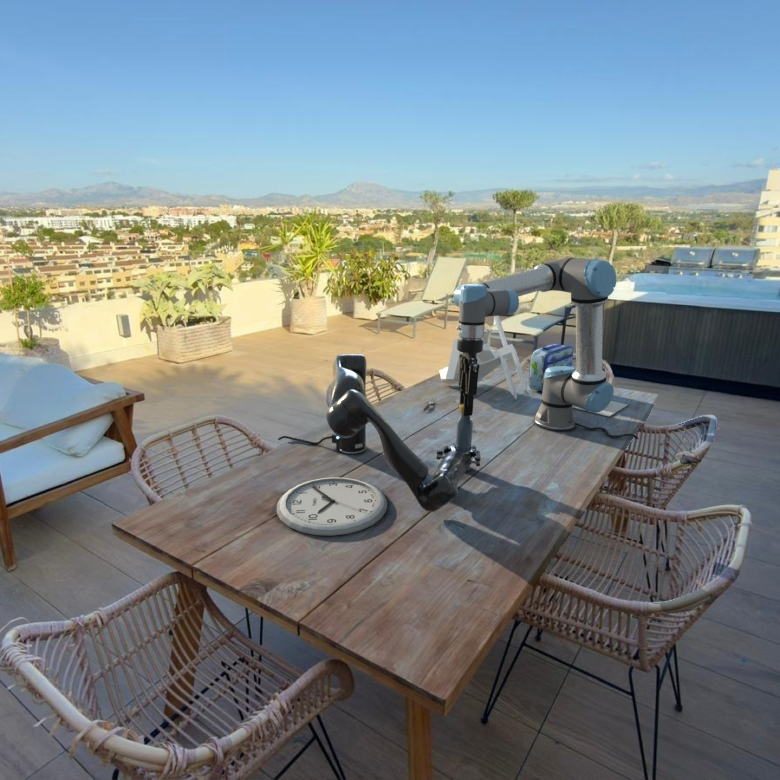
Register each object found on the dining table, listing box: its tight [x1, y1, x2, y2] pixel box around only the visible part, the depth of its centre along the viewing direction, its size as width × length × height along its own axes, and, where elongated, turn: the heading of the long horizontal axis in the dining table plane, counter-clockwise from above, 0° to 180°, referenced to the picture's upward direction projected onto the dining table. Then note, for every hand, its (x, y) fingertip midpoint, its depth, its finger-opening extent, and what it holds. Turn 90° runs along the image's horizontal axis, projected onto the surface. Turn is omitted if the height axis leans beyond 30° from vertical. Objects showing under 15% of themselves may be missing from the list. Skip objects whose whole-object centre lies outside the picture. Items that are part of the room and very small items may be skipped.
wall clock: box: [276, 476, 388, 537], centre depth 142 cm, size 30×2×30 cm
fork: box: [422, 395, 437, 412], centre depth 223 cm, size 3×16×2 cm, turn 160°
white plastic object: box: [438, 316, 531, 400], centre depth 245 cm, size 37×45×31 cm
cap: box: [458, 403, 464, 415], centre depth 160 cm, size 4×4×2 cm
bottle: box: [455, 413, 474, 472], centre depth 163 cm, size 5×5×20 cm
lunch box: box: [528, 343, 574, 392], centre depth 248 cm, size 26×11×21 cm, turn 134°
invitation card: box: [573, 400, 629, 418], centre depth 226 cm, size 21×1×15 cm
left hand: (465, 446), depth 167 cm, fingers closed on bottle, 4 cm apart
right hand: (465, 412), depth 161 cm, fingers closed on cap, 4 cm apart
